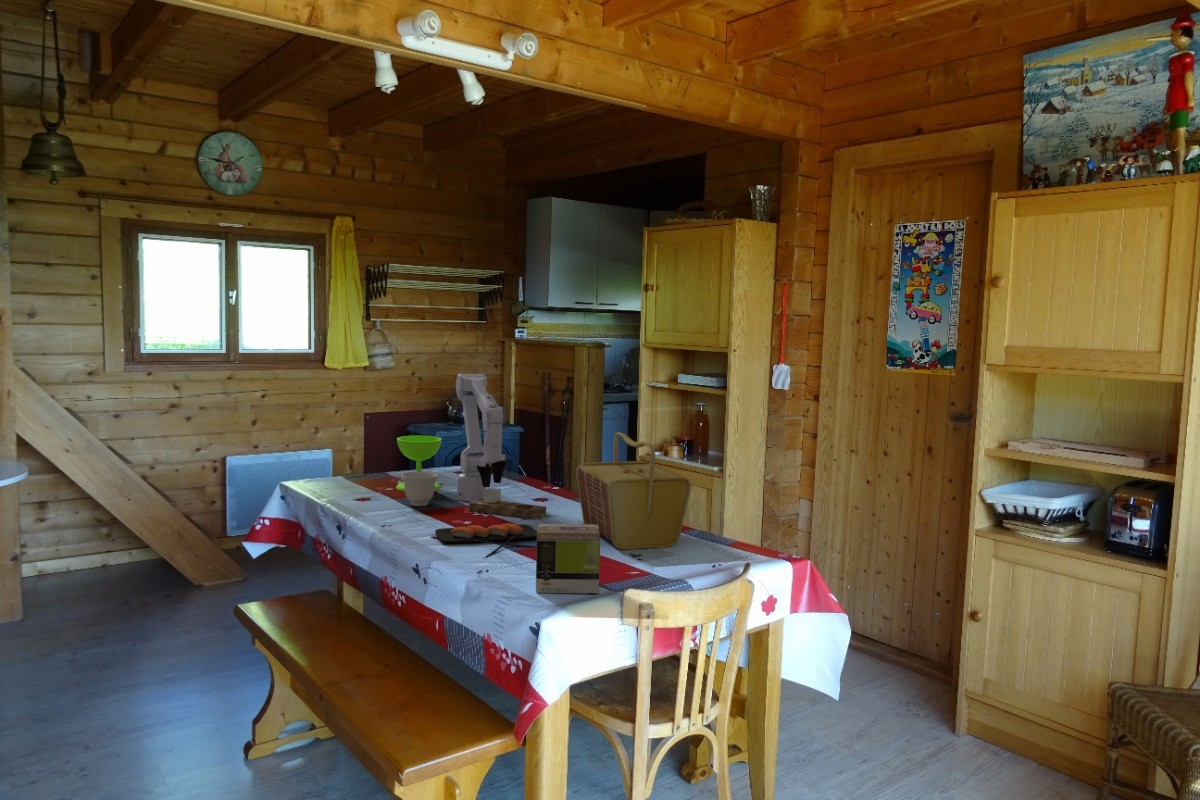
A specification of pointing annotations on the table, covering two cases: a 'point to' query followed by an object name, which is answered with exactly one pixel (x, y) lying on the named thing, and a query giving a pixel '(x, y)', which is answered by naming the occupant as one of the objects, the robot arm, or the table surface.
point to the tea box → (567, 558)
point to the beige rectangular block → (492, 496)
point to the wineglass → (418, 451)
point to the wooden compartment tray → (508, 509)
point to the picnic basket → (633, 500)
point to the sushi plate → (487, 534)
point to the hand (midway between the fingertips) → (491, 484)
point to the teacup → (419, 487)
